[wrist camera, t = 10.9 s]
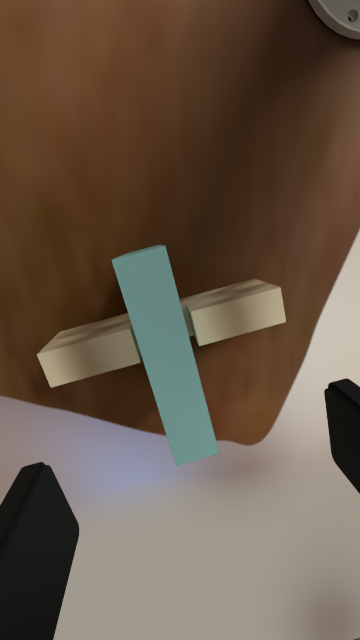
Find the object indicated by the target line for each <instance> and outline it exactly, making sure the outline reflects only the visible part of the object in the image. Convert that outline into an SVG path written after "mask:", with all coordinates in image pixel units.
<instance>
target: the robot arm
mask: <svg viewBox="0 0 360 640" xmlns="http://www.w3.org/2000/svg"><path fill="white" fill-rule="evenodd" d="M308 1H309V3H310V5H311V6H312V8H313V9H314V11H315V13H316V14H317V15H318V17H319V18H320V19H321V20H322V21H323V22H324V23H325V24H326V25H327V26H328V27H330V28H331V29H332V30H334V31H335V32H337V33H338V34H341V35H343V36H346V37H348V38H351V39H359V40H360V0H308ZM325 401H326V410H327V419H328V428H329V436H330V445H331V453H332V457H333V459H334V461H335V463H336V464H337V466H338V467H339V468H340V470H341V471H342V472H343V473H344V475H345V476H346V477H347V478H348V480H349V481H350V482H351V483H352V485H353V486H354V487H355V488H356V489H357V491H358V492H359V493H360V387H359V386H358V385H356V384H355V383H353V382H352V381H351V380H349V379H342V380H339V381H335V382H332V383H329V385H328V389H325ZM78 537H79V525H78V522H77V520H76V518H75V516H74V514H73V512H72V510H71V508H70V506H69V504H68V502H67V500H66V497H65V495H64V493H63V491H62V489H61V487H60V485H59V483H58V481H57V479H56V477H55V475H54V473H53V471H52V469H51V467H50V466H49V465H45V464H44V463H43V462H39V463H35V464H32V465H28V466H25V467H23V468H22V469H21V470H20V472H19V473H18V475H17V477H16V479H15V480H14V482H13V484H12V486H11V487H10V489H9V491H8V493H7V494H6V496H5V498H4V500H3V502H2V503H1V505H0V640H53V638H54V634H55V629H56V625H57V621H58V618H59V613H60V610H61V606H62V602H63V598H64V593H65V590H66V586H67V581H68V577H69V573H70V569H71V565H72V561H73V557H74V553H75V549H76V545H77V541H78ZM354 640H360V638H358V639H354Z"/></svg>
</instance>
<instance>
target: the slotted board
mask: <svg viewBox="0 0 360 640" xmlns="http://www.w3.org/2000/svg"><path fill="white" fill-rule="evenodd" d="M179 300H180V304H181V308H182V312H183V316H184V320H185V323H186V327H187V331H188V335H189V336H193V335H194V336H195V338H196V340H197V343H198V345H199V346H202V345H206V344H209V343H213V342H216V341H220V340H223V339H227V338H231V337H234V336H238V335H241V334H245V333H248V332H252V331H256V330H259V329H263V328H266V327H270V326H274V325H277V324H281V323H284V322H286V318H285V312H284V306H283V299H282V293H281V287H278V286H275V285H272V284H269V283H266V282H263V281H260V280H257V279H251V280H247V281H244V282H240V283H236V284H233V285H229V286H225V287H222V288H218V289H214V290H211V291H207V292H203V293H200V294H196V295H192V296H189V297H185V298H182V299H179ZM37 357H38V359H39V361H40V364H41V366H42V368H43V371H44V373H45V375H46V378H47V380H48V382H49V385H50V387H51V388H52V387H55V386H59V385H62V384H66V383H69V382H73V381H77V380H80V379H84V378H87V377H91V376H95V375H98V374H102V373H105V372H109V371H112V370H116V369H120V368H123V367H127V366H130V365H134V364H137V363H141V352H140V349H139V346H138V343H137V339H136V336H135V333H134V330H133V327H132V324H131V320H130V317H129V314H128V313H127V314H123V315H119V316H116V317H112V318H108V319H105V320H101V321H97V322H94V323H90V324H86V325H83V326H79V327H75V328H72V329H68V330H64V331H61V332H59V333H58V334H57V335H56V336H55V337H54V338H53V339H52V340H51V341H50V342H49V343H48V344H47V345H46V346H45V347H44V348H43V349H42V350H41V351H40V352H39V353H38V354H37Z"/></svg>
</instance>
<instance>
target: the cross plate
mask: <svg viewBox="0 0 360 640" xmlns="http://www.w3.org/2000/svg"><path fill="white" fill-rule="evenodd" d="M112 263H113V266H114V269H115V273H116V276H117V279H118V282H119V285H120V289H121V292H122V295H123V298H124V301H125V304H126V308H127V311H128V314H129V317H130V320H131V324H132V327H133V330H134V333H135V336H136V339H137V343H138V346H139V349H140V352H141V355H142V359H143V362H144V365H145V368H146V371H147V374H148V378H149V381H150V384H151V387H152V390H153V394H154V397H155V400H156V403H157V406H158V409H159V413H160V416H161V419H162V422H163V425H164V429H165V432H166V435H167V438H168V441H169V444H170V448H171V451H172V454H173V457H174V460H175V463H176V466H178V465H182V464H185V463H188V462H191V461H195V460H199V459H202V458H206V457H209V456H212V455H216V454H219V451H218V447H217V443H216V439H215V435H214V431H213V428H212V424H211V420H210V416H209V412H208V408H207V404H206V401H205V397H204V393H203V389H202V385H201V381H200V377H199V374H198V370H197V366H196V362H195V358H194V354H193V350H192V347H191V343H190V339H189V335H188V331H187V327H186V323H185V320H184V316H183V312H182V308H181V304H180V300H179V297H178V293H177V289H176V285H175V281H174V277H173V273H172V270H171V266H170V262H169V258H168V254H167V250H166V246H164V245H155V246H152V247H148V248H144V249H140V250H136V251H133V252H129V253H126V254H124V255H121V256H119V257H117V258H115V259H112Z"/></svg>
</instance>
